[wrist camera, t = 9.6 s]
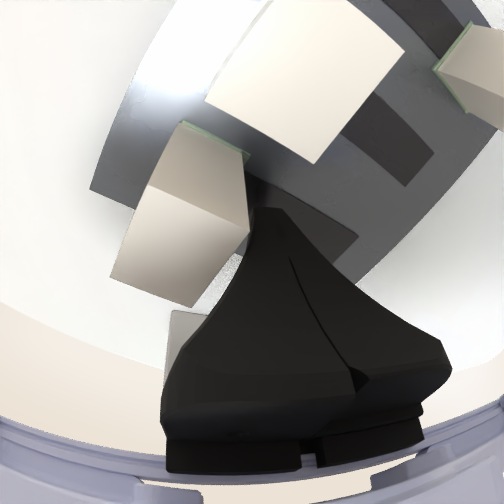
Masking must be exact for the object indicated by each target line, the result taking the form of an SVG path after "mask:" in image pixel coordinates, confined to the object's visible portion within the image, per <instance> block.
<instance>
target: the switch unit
mask: <svg viewBox="0 0 504 504" xmlns="http://www.w3.org/2000/svg"><path fill="white" fill-rule="evenodd" d="M266 1H267V0H178V2H177V3H176V5H175V6H174V8H173V9H172V11H171V12H170V14H169V15H168V17H167V19H166V20H165V22H164V23H163V25H162V27H161V28H160V30H159V32H158V33H157V35H156V37H155V38H154V40H153V42H152V44H151V45H150V47H149V49H148V51H147V53H146V55H145V56H144V58H143V60H142V62H141V64H140V66H139V68H138V70H137V72H136V74H135V76H134V78H133V80H132V82H131V84H130V86H129V88H128V90H127V92H126V94H125V97H124V99H123V101H122V103H121V105H120V108H119V110H118V112H117V115H116V117H115V119H114V122H113V124H112V127H111V129H110V132H109V134H108V137H107V139H106V142H105V145H104V147H103V150H102V153H101V156H100V158H99V161H98V164H97V167H96V170H95V173H94V176H93V179H92V182H91V185H90V190H92V191H94V192H96V193H99V194H101V195H103V196H106V197H108V198H110V199H112V200H115V201H117V202H119V203H121V204H124V205H126V206H128V207H131V208H133V209H135V210H136V208H137V206H138V204H139V202H140V199H141V197H142V195H143V193H144V190H145V188H146V186H147V184H148V182H149V180H150V178H151V175H152V173H153V171H154V169H155V167H156V165H157V163H158V161H159V159H160V157H161V155H162V153H163V151H164V149H165V147H166V145H167V143H168V141H169V140H170V138H171V136H172V134H173V132H174V130H175V128H176V126H177V125H178V123H179V122H180V123H182V124H184V125H186V126H188V127H190V128H192V129H194V130H196V131H198V132H200V133H202V134H204V135H206V136H208V137H210V138H212V139H214V140H216V141H218V142H220V143H222V144H224V145H226V146H227V147H229V148H231V149H233V150H235V151H237V152H239V153H241V154H242V161H243V170H244V180H245V189H246V199H247V208H248V218H249V227H250V223H251V217H252V212H253V208H255V207H256V206H262V207H272V208H282V209H283V210H284V211H285V212H286V214H287V215H288V216H289V217H290V218H291V220H292V221H293V222H294V223H295V224H296V226H297V227H298V228H299V229H300V230H301V231H302V233H303V234H304V235H305V236H306V237H307V238H308V240H309V241H310V242H311V243H312V244H313V245H314V246H315V247H316V248H317V249H318V251H319V252H320V253H321V254H322V255H323V256H324V257H325V258H326V259H327V260H328V261H329V262H330V263H331V264H332V265H333V266H334V267H335V268H336V269H337V270H338V271H339V272H341V273H342V274H343V275H344V276H345V277H346V278H347V279H349V280H350V281H351V282H352V283H353V284H354V285H355V284H356V283H357V282H358V281H359V280H360V279H361V278H362V277H364V276H365V275H366V274H367V273H368V272H369V271H370V270H371V269H372V268H373V267H374V266H375V265H376V264H377V263H378V262H379V261H380V260H381V259H382V258H384V257H385V256H386V255H387V254H388V253H389V252H390V251H391V250H392V249H393V248H394V247H395V246H396V245H397V244H398V243H399V242H400V241H401V240H402V239H403V238H404V237H405V236H406V235H407V234H408V233H409V232H410V231H411V230H412V228H413V227H414V226H415V225H416V224H417V223H418V222H419V221H420V220H421V219H422V218H423V217H424V216H425V215H426V214H427V213H428V212H429V211H430V209H431V208H432V207H433V206H434V205H435V204H436V203H437V202H438V201H439V200H440V199H441V197H442V196H443V195H444V194H445V193H446V192H447V191H448V190H449V188H450V187H451V186H452V185H453V184H454V183H455V182H456V180H457V179H458V178H459V177H460V176H461V175H462V173H463V172H464V171H465V170H466V169H467V167H468V166H469V165H470V164H471V163H472V161H473V160H474V159H475V158H476V157H477V155H478V154H479V153H480V152H481V150H482V149H483V148H484V147H485V145H486V144H487V143H488V141H489V140H490V139H491V138H492V136H493V135H494V134H495V132H496V131H497V130H498V129H497V128H496V127H494V126H493V125H491V124H489V123H488V122H486V121H484V120H482V119H481V118H479V117H477V116H475V115H474V114H472V113H470V112H468V111H467V109H466V108H465V106H464V105H463V104H462V102H461V101H460V99H459V98H458V97H457V95H456V94H455V93H454V91H453V90H452V89H451V87H450V86H449V85H448V83H447V82H446V81H445V80H444V78H443V77H442V76H441V75H440V74H439V72H438V71H437V70H438V68H439V67H440V66H441V65H442V63H443V62H444V61H445V59H446V58H447V57H448V56H449V54H450V53H451V52H452V51H453V49H454V48H455V47H456V45H457V44H458V43H459V42H460V40H461V39H462V38H463V36H464V35H465V34H466V32H467V31H468V30H469V29H470V27H471V26H472V25H478V26H484V27H489V28H491V26H490V25H489V24H488V22H487V21H486V19H485V18H484V16H483V15H482V13H481V12H480V11H479V9H478V8H477V7H476V5H475V4H474V3H473V1H472V0H347V1H348V2H350V3H351V4H352V5H353V6H355V7H356V8H357V9H358V10H360V11H361V12H362V13H363V14H365V15H366V16H367V17H368V18H369V19H370V20H372V21H373V22H374V23H375V24H376V25H377V26H378V27H380V28H381V29H382V30H383V31H384V32H385V33H386V34H387V35H388V36H389V37H390V38H391V39H393V40H394V41H395V42H396V43H397V44H398V45H399V46H400V47H401V48H402V49H403V50H404V51H405V52H404V53H403V54H402V56H401V57H400V58H399V59H398V60H397V62H396V63H395V64H394V65H393V67H392V68H391V69H390V70H389V72H388V73H387V74H386V75H385V76H384V78H383V79H382V80H381V81H380V83H379V84H378V85H377V86H376V88H375V89H374V90H373V91H372V93H371V94H370V95H369V96H368V97H367V99H366V100H365V101H364V102H363V104H362V105H361V106H360V107H359V109H358V110H357V111H356V112H355V114H354V115H353V116H352V117H351V119H350V120H349V121H348V122H347V124H346V125H345V126H344V127H343V128H342V130H341V131H340V132H339V133H338V135H337V136H336V137H335V138H334V140H333V141H332V142H331V143H330V145H329V146H328V147H327V148H326V150H325V151H324V152H323V153H322V155H321V156H320V157H319V158H318V160H317V161H316V162H315V163H314V164H312V163H311V162H309V161H308V160H306V159H305V158H303V157H302V156H300V155H298V154H297V153H295V152H294V151H292V150H290V149H289V148H287V147H286V146H284V145H282V144H281V143H279V142H277V141H276V140H274V139H272V138H271V137H269V136H267V135H266V134H264V133H262V132H260V131H259V130H257V129H255V128H253V127H252V126H250V125H248V124H246V123H245V122H243V121H241V120H239V119H237V118H236V117H234V116H232V115H230V114H228V113H226V112H224V111H223V110H221V109H219V108H217V107H215V106H213V105H211V104H209V103H207V102H205V101H204V100H205V97H206V95H207V92H208V90H209V87H210V84H211V82H212V80H213V77H214V75H215V72H216V71H217V69H218V68H219V66H220V65H221V63H222V62H223V60H224V59H225V57H226V56H227V54H228V53H229V51H230V50H231V48H232V47H233V45H234V44H235V43H236V41H237V40H238V38H239V37H240V36H241V34H242V33H243V31H244V30H245V29H246V27H247V26H248V25H249V23H250V22H251V20H252V19H253V18H254V17H255V15H256V14H257V13H258V11H259V10H260V9H261V7H262V6H263V5H264V4H265V2H266ZM248 234H249V233H248ZM247 240H248V235H247V236H246V237H245V239H244V240H243V241H242V242H241V244H240V245H239V246H238V248H237V249H236V250H235V252H234V253H236V254H239V255H241V256H244V254H245V251H246V246H247Z"/></svg>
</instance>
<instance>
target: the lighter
mask: <svg viewBox="0 0 504 504" xmlns="http://www.w3.org/2000/svg"><path fill="white" fill-rule="evenodd" d="M206 318H207V315H201V314H194V313H188V312H182V311H176V310H175V311H172V314H171V320H170V326H169V335H168V343H167V352H166V362H165V372H164V383H163V387H164V385H165V382H166V379H167V377H168V374H169V372H170V370H171V368H172V365H173V363H174V361H175V359H176V357H177V355H178V353H179V351H180V348H181V347H182V346H183V344H184V343H185V342H186V341H187V340H188V339H189V338H190V337H191V335H192V334H193V333H194V332H195V331H196V330H197V329H198V328H199V326H200V325H201V324H202V323H203V321H204V320H205V319H206Z"/></svg>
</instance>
